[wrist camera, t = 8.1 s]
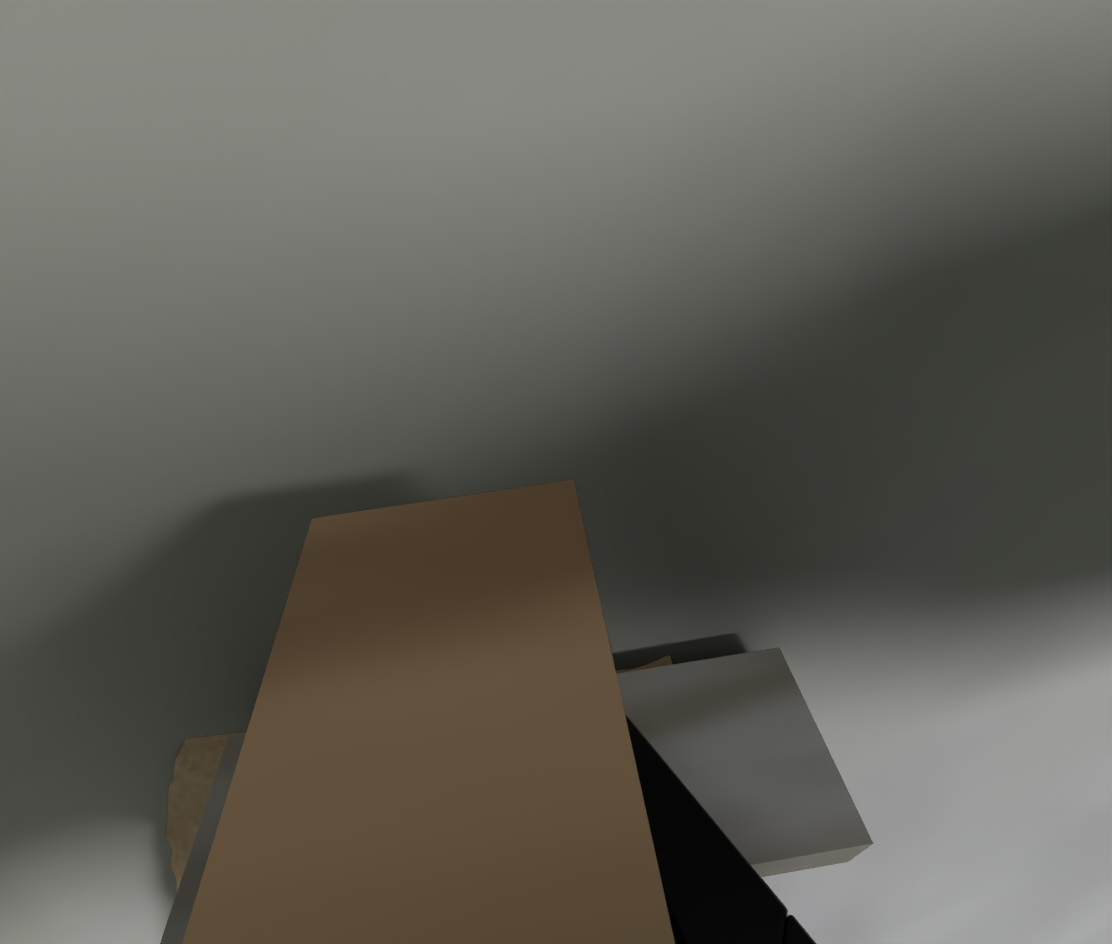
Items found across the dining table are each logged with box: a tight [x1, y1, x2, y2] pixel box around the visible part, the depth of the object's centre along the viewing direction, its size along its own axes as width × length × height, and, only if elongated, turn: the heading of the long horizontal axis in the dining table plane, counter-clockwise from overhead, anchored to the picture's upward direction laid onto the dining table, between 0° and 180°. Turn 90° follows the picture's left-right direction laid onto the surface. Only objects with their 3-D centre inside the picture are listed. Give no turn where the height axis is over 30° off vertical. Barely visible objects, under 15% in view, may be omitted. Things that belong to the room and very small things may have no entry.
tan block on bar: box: [160, 479, 873, 944], centre depth 7 cm, size 6×10×4 cm, turn 98°
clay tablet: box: [165, 655, 673, 894], centre depth 11 cm, size 14×10×3 cm
